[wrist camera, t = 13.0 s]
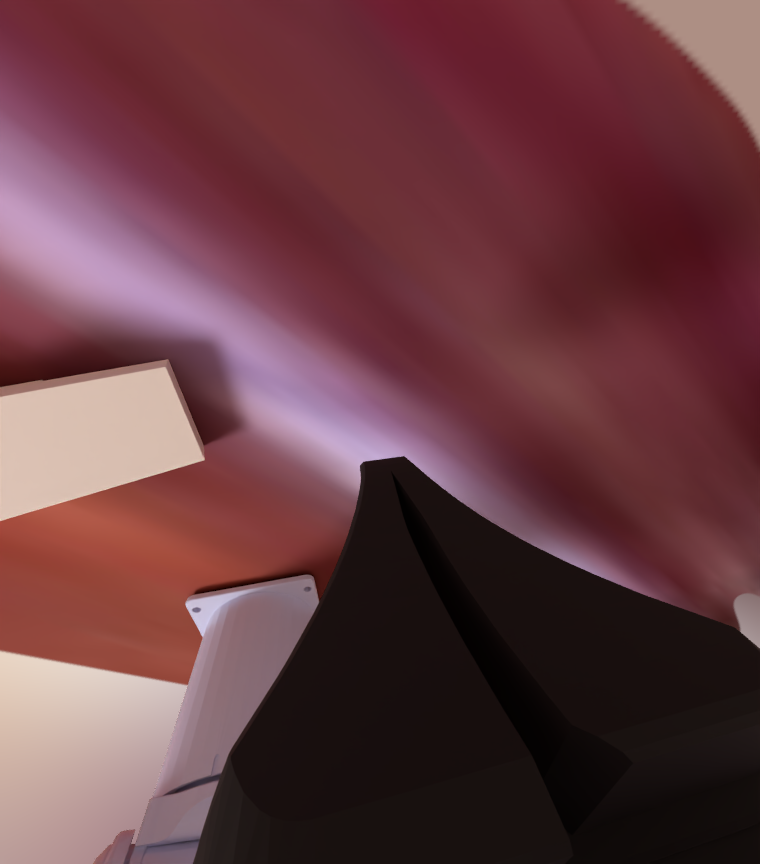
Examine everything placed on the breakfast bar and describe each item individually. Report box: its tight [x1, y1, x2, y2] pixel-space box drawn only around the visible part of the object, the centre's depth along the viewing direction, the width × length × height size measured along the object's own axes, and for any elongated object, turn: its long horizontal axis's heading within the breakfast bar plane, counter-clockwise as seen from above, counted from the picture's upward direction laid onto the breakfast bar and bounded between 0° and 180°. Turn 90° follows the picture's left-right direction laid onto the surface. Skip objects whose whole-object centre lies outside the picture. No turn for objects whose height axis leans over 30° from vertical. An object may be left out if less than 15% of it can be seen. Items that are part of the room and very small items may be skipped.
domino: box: [0, 359, 205, 521], centre depth 12 cm, size 4×2×7 cm
